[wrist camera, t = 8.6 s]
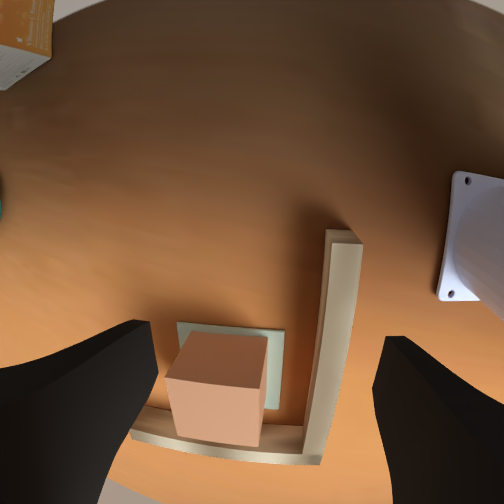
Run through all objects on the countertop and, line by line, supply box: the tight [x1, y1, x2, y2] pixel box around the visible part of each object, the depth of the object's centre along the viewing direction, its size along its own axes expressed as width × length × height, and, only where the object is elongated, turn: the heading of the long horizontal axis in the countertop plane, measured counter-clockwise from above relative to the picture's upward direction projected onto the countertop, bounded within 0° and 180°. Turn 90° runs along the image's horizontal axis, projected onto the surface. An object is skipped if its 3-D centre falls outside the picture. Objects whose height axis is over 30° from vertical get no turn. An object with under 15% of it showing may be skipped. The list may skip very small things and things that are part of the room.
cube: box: [164, 331, 268, 447], centre depth 18 cm, size 5×5×5 cm
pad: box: [177, 322, 285, 410], centre depth 20 cm, size 7×7×1 cm
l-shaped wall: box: [129, 229, 363, 465], centre depth 19 cm, size 15×17×3 cm
